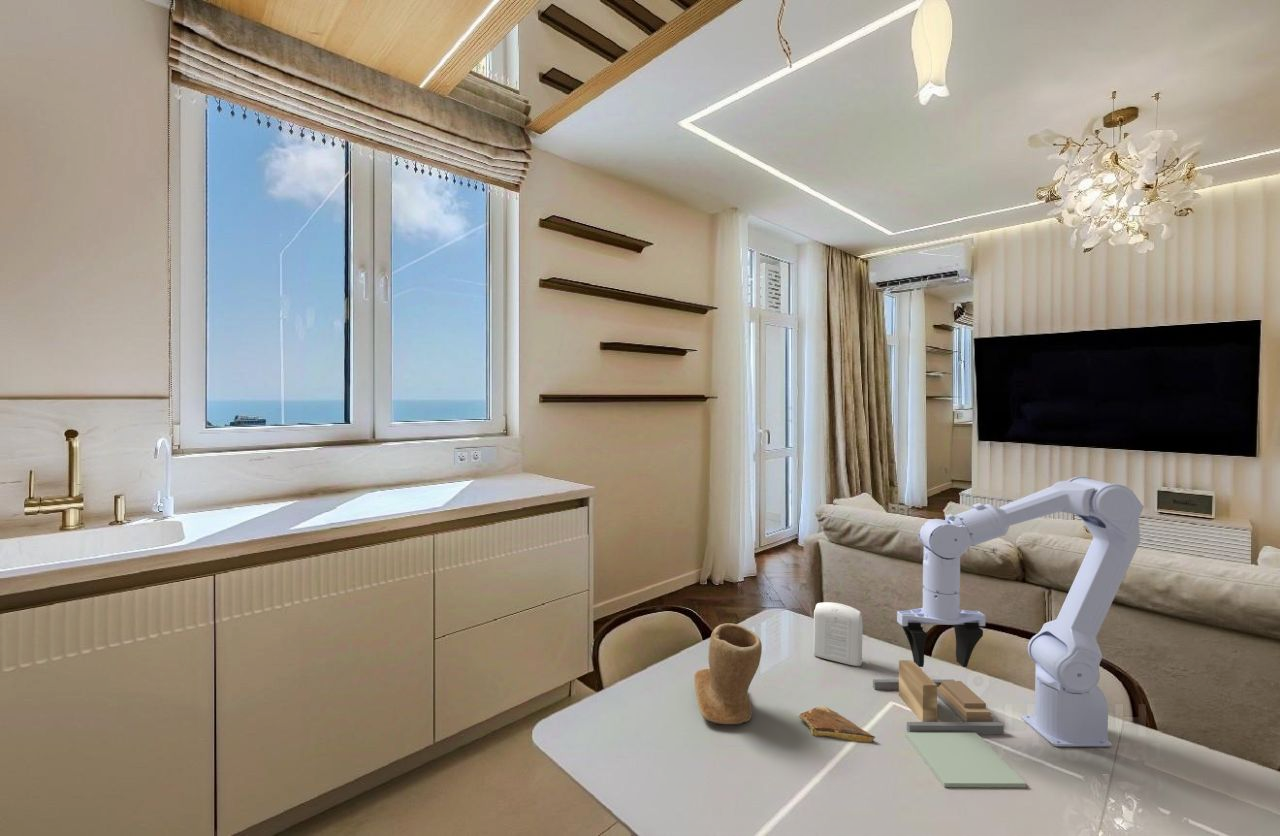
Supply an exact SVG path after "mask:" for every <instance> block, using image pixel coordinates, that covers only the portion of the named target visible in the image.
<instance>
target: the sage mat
mask: <svg viewBox="0 0 1280 836" xmlns="http://www.w3.org/2000/svg"><path fill="white" fill-rule="evenodd" d="M904 734H905V738H906V739H907V740H908V741H909V743H910V744H911V745H912V747H913V748H914V749H915V751H916V752H917V754H918V755H919V756H920V758H921V759H922V760H923V761H924V763H925V764H926V765H927V767H929V769H930V770H931V771H932V772H931V773H933V774H934V775H935V777H936V778H937V780H938V781H939V782H940V784H941V785H942V786H943V788H1027V783H1026V782H1025V780H1024V779H1022V778H1021V776H1020V775H1018V773H1016V772H1015V770H1014V769H1013V768H1011V766H1010V765H1008V763H1006V761H1005V760H1004V759H1003V758H1002V757H1001V756H1000V755H999V754H998V753H997V752H996V751H995V750H994V749H993V748H992V747H991V746H990V745H989V744H988V743H987V742H986V740H984V739H983V738H982V737H981V736H980V734H977V733H947V732H908V731H907V732H905V733H904Z"/></svg>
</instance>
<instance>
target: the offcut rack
mask: <svg viewBox="0 0 1280 836" xmlns="http://www.w3.org/2000/svg"><path fill="white" fill-rule="evenodd" d="M930 679H931V680H932V681H933V682H934V683H935V684H936V685H937V698H938V699H939V700H941V702H942V703H943V704H944V705H945V706H947V708H948V709H949V710H950V711H951V712H952V713H953V714H954V715H955V716H956V717H957V718H958V719H959V720H960V721H937V722H921V721H907V722H906V731H907V732H947V733H977V734H978V735H1004V733H1005V731H1004V729H1005V726H1004V724H1003V723H1002V722H1000V721H995V720H994V717H993V716H992V715H991V711H990V710H988V708H987V703H986V702H985V701H984V700H983V699H981V697H979V695H977V694H976V693H975V692H974V691H972V689H971V688H970V687H968V686H967V685H966V684H965V683H964V682H963V681H961V680H955V679H932V678H930ZM872 688H873V689H874V690H882V691H883V690H889V691H890V690H891V691H892V690H893V691H894V690H898V691H899V678H898V679H897V678H896V679H886V678H885V679H883V678H882V679H880V678H879V679H875V678H874V679H872Z"/></svg>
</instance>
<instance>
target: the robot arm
mask: <svg viewBox="0 0 1280 836" xmlns="http://www.w3.org/2000/svg"><path fill="white" fill-rule="evenodd" d="M1143 509H1144V505H1143V503H1141V501H1140V499H1139V498H1138V497H1137V495H1136V493H1134V492H1133V490H1132V489H1130V487H1127V486H1125V485H1123V484H1119V483H1109V482H1106V481H1100V480H1096V479H1092V478H1090V477H1086V476H1075V477H1072V478H1069V479H1068V480H1060V481H1057V482H1056V483H1054V484H1052V485H1051V486H1048V487H1046V488H1043V489H1042V490H1039V491H1036V492H1034V493H1031V494H1029V495H1026V496H1024V497H1021V498H1019V499H1016V500H1014V501H1011V502H1008V503H1006V504H1004V505H1002V506H999V507H998V506H995V505H993V504H989V503H986V504H983V503H980V502H977V503H975V504H974V503H973V504H972V508H971V509H969V510H968V509H967V510H965V511H963V512H959V513H957V514H954V515H953V514H952V513H949V514H946V515H945V519H942V518H941V519H939V518H932V519H928V520H927V521H926V522H924V525H921V527H920V530H919V531H918V532H917V538H918V540H919V542H920V543H921V545H922V546H923V560H922V607H920V608H914V609H913V608H912V609H908V610H907V609H906V610H896V621H897V623H898V624H899V625H901V627H902V629H903V631H904V634H905V635H906V638H907V641H908V643H909V646H910V650H911V651H910V652H911V654H912V661H913V662H914V663H915V664H916V665H917V666H918V667H919V668H924V664H925V646H926V642H927V638H928V633H927V632H926V631H924V629H923V628H924V627H923V626H922V625H924V626H925V625H926V626H927V625H929V626H930V625H933V626H934V625H936V626H937V625H938V626H939V625H940V626H941V625H947V626H948V625H949V626H950V625H951V626H953V627H954V628H953V629H954V634H955V636H954V637H955V658H956V662H957V664H959V665H960V666H961V667H962V668H967V667H968V664H969V661H970V658H971V657H972V656H971V655H972V654H973V651H974V649H975V647H976V645H977V644H978V642H979V641H980V640H981V639H982V637H983V636H984V630H983V629H982V628H981V627H986V614H983V613H982V612H981V611H980V610H965V609H961V608H960V607H961V606H960V605H961V595H960V594H961V591H960V590H961V582H960V581H961V556H963V555H964V554H965V552H966V551H967V549H968V548H970V547H974V546H976V545H980V544H983V543H985V542H988V541H991V540H995V539H998V538H1000V537H1003V536H1006V534H1007V533H1008V530H1009V529H1010V527H1011V526H1013V525H1016V524H1021V523H1024V522H1026V521H1031V520H1035V519H1037V518H1042V517H1045V516H1049V515H1052V514H1056V513H1059V512H1060V513H1067V514H1073V515H1075V516H1077V517H1078V518H1079V519H1080V520H1082V522H1083V524H1084V525H1085V526H1086V528H1087V529H1088V532H1090V534H1091V535H1092V540H1091V541H1090V542H1091V543H1090V545H1089V547H1088V549H1087V551H1086V554H1085V556H1084V558H1083V560H1082V562H1081V564H1080V566H1079V568H1078V571H1077V573H1076V575H1075V577H1074V580H1073V582H1072V584H1071V586H1070V589H1069V590H1068V593H1067V595H1066V597H1065V600H1064V602H1063V604H1062V607H1061V608H1060V610H1059V613H1058V615H1057V617H1056V619H1054V620H1050V621H1047V622H1045V623H1043V625H1042V628H1041V629H1040V631H1039V632H1037V633H1036V634H1035V635H1033V636H1032V637H1031V638H1030V640H1029V641H1028V644H1027V653H1028V655H1029V657H1030V659H1031V660H1032V661H1033V662H1034V663H1035V666H1034V667H1035V676H1034V678H1035V679H1034V681H1035V682H1034V683H1035V684H1034V685H1035V686H1034V714H1033V715H1028V714H1026V715H1022V716H1021V719H1022V720H1024V722H1026V724H1028V725H1029V726H1030V727H1031V728H1033V729H1034V730H1035V731H1037V732H1038V734H1039V735H1040V736H1042V737H1043V738H1045V740H1047V741H1048V742H1049V743H1050V744H1052V746H1055V747H1105V748H1106V747H1112V746H1113V744H1112V742H1111V741H1110V740H1109V739H1108V736H1109V735H1108V733H1109V732H1108V729H1109V728H1108V727H1109V706H1108V705H1109V704H1108V700H1107V698H1106V695H1105V693H1104V691H1103V690H1102V689H1101V688H1100V686H1098V683H1099V681H1100V676H1101V674H1100V673H1101V671H1100V664H1101V661H1102V659H1103V654H1102V651H1101V648H1100V646H1099V644H1098V640H1097V635H1098V633H1099V631H1100V630H1101V627H1102V626H1103V623H1104V621H1105V618H1106V617H1107V615H1108V612H1109V610H1110V607H1111V606H1112V603H1113V601H1114V599H1115V597H1116V595H1117V593H1118V591H1119V588H1120V586H1121V584H1122V582H1123V580H1124V578H1125V575H1126V574H1127V571H1128V569H1129V567H1130V564H1131V562H1132V560H1133V559H1134V556H1135V554H1136V552H1137V550H1138V547H1139V545H1140V542H1141V532H1140V520H1139V519H1140V516H1141V515H1142V512H1143Z"/></svg>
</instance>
